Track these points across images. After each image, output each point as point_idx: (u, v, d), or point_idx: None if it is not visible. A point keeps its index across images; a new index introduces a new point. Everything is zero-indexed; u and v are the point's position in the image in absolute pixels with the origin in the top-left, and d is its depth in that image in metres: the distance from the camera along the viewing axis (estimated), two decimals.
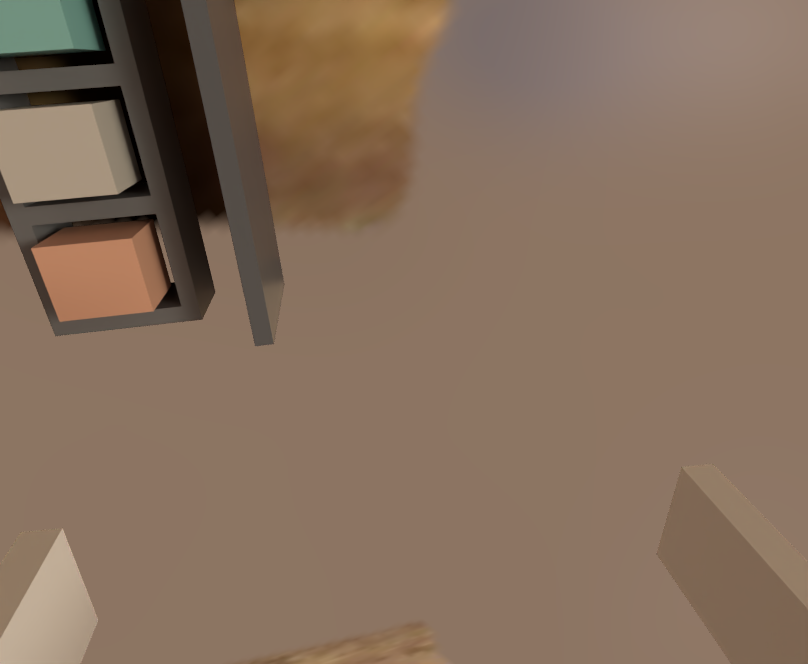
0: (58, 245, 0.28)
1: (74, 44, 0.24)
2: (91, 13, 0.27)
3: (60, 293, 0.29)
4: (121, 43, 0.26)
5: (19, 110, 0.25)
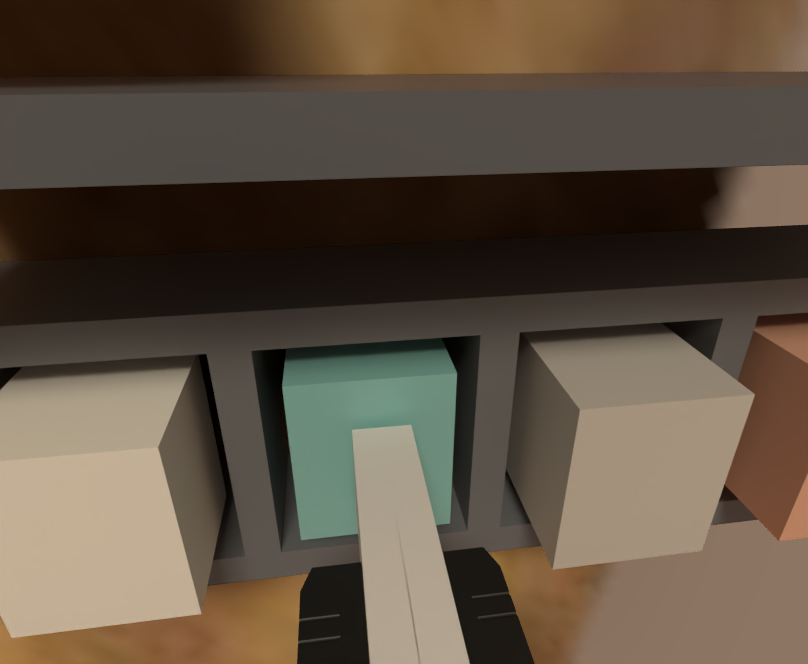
0: (791, 502, 0.14)
1: (449, 369, 0.13)
2: None
3: None
4: (447, 315, 0.13)
5: (563, 517, 0.13)
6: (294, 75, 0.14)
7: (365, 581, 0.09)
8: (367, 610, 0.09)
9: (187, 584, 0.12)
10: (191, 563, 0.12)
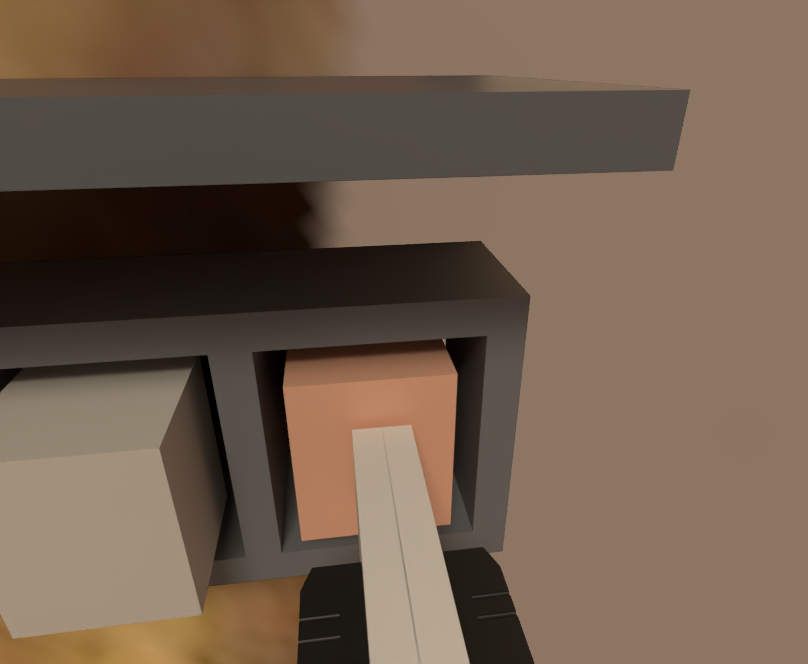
0: (298, 502, 0.14)
1: None
2: None
3: None
4: None
5: None
6: None
7: (365, 581, 0.09)
8: (367, 610, 0.09)
9: None
10: None
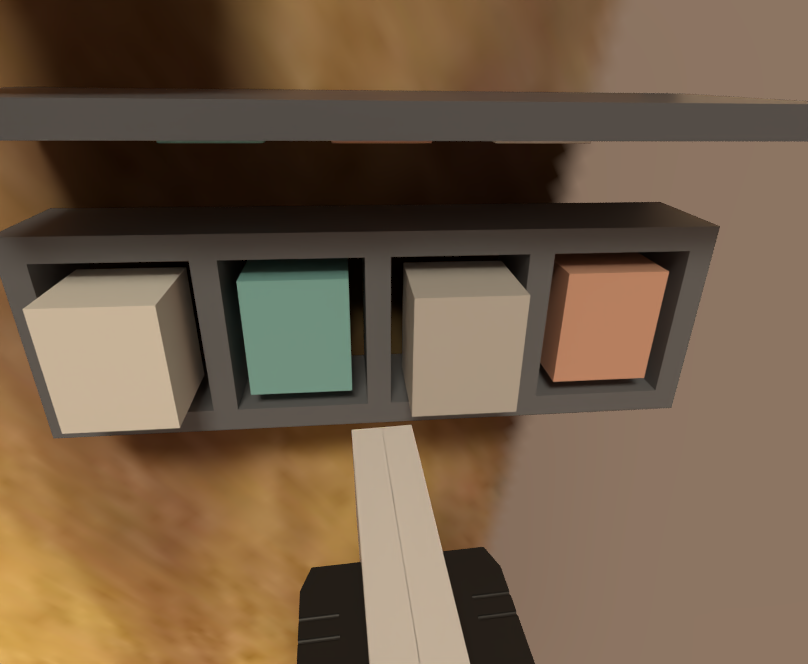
0: (556, 354, 0.23)
1: (344, 277, 0.21)
2: None
3: (611, 367, 0.24)
4: (342, 243, 0.20)
5: (414, 376, 0.20)
6: (254, 89, 0.21)
7: (365, 581, 0.09)
8: (367, 610, 0.09)
9: (171, 404, 0.20)
10: (174, 391, 0.20)
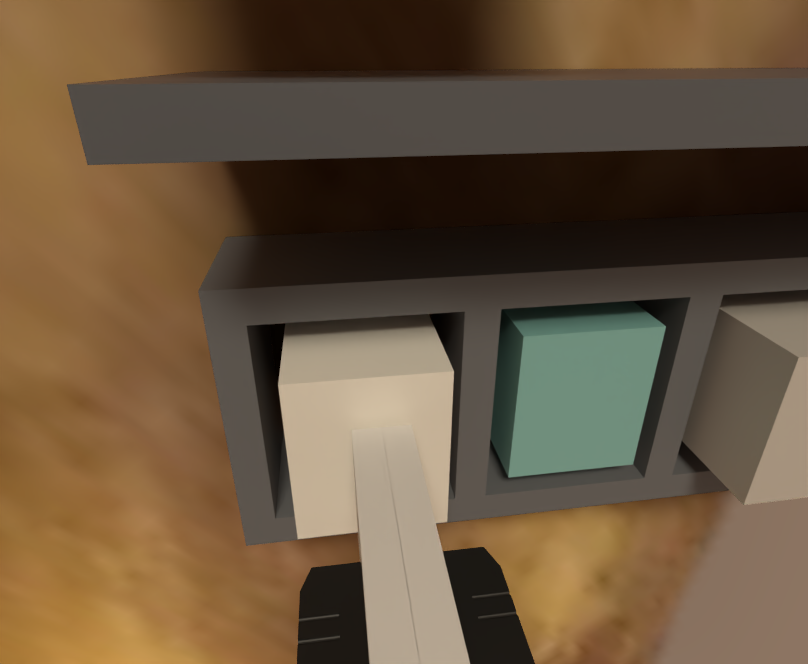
0: None
1: (657, 324, 0.15)
2: None
3: None
4: (667, 279, 0.15)
5: (763, 456, 0.15)
6: None
7: (365, 581, 0.09)
8: (367, 610, 0.09)
9: (444, 494, 0.15)
10: None
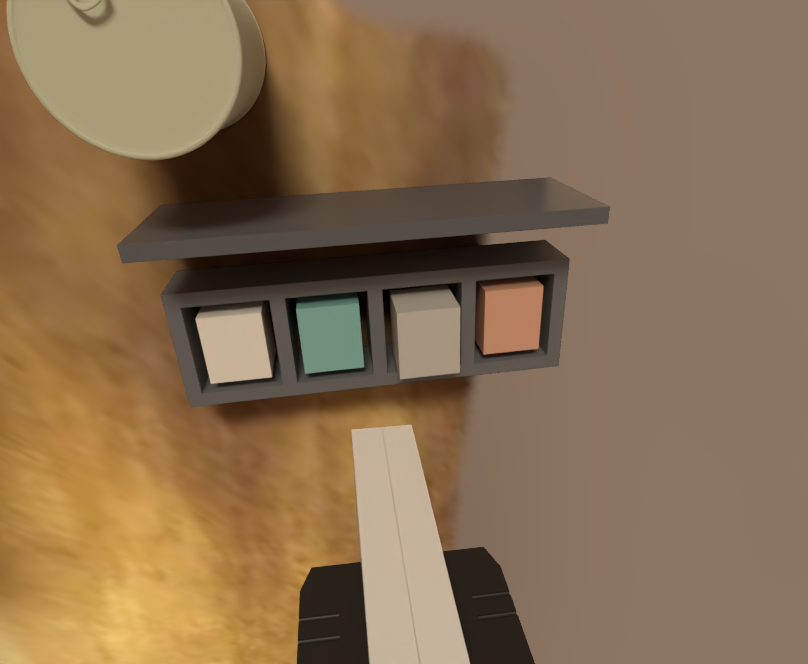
0: (483, 338, 0.39)
1: (356, 302, 0.37)
2: None
3: (517, 343, 0.40)
4: (354, 284, 0.36)
5: (399, 356, 0.36)
6: (296, 196, 0.37)
7: (365, 581, 0.09)
8: (367, 610, 0.09)
9: (267, 364, 0.37)
10: (268, 357, 0.38)
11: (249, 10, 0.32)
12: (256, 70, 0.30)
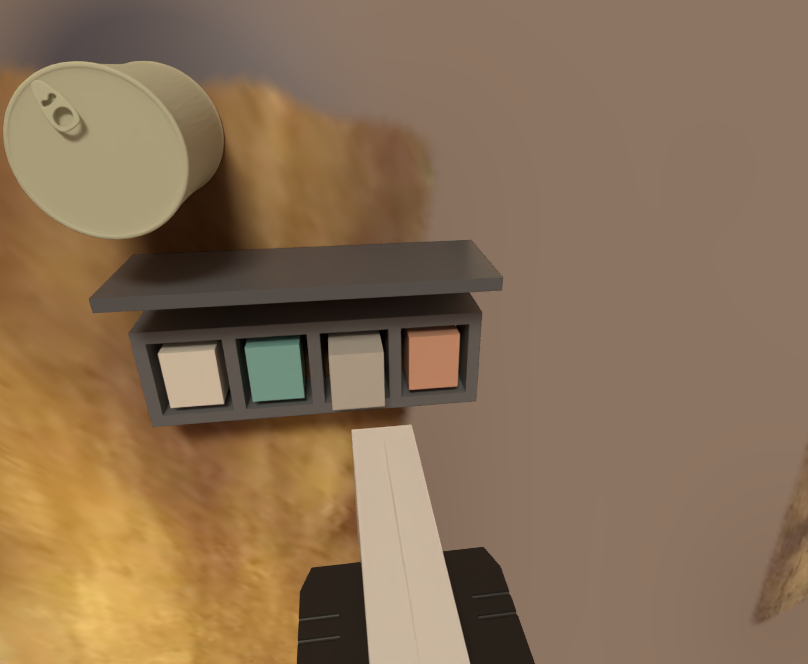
0: (409, 376, 0.45)
1: (297, 343, 0.43)
2: None
3: (439, 381, 0.46)
4: (295, 328, 0.42)
5: (331, 391, 0.42)
6: (249, 250, 0.43)
7: (365, 581, 0.09)
8: (367, 610, 0.09)
9: (220, 393, 0.44)
10: (221, 387, 0.44)
11: (209, 102, 0.38)
12: (211, 155, 0.37)
